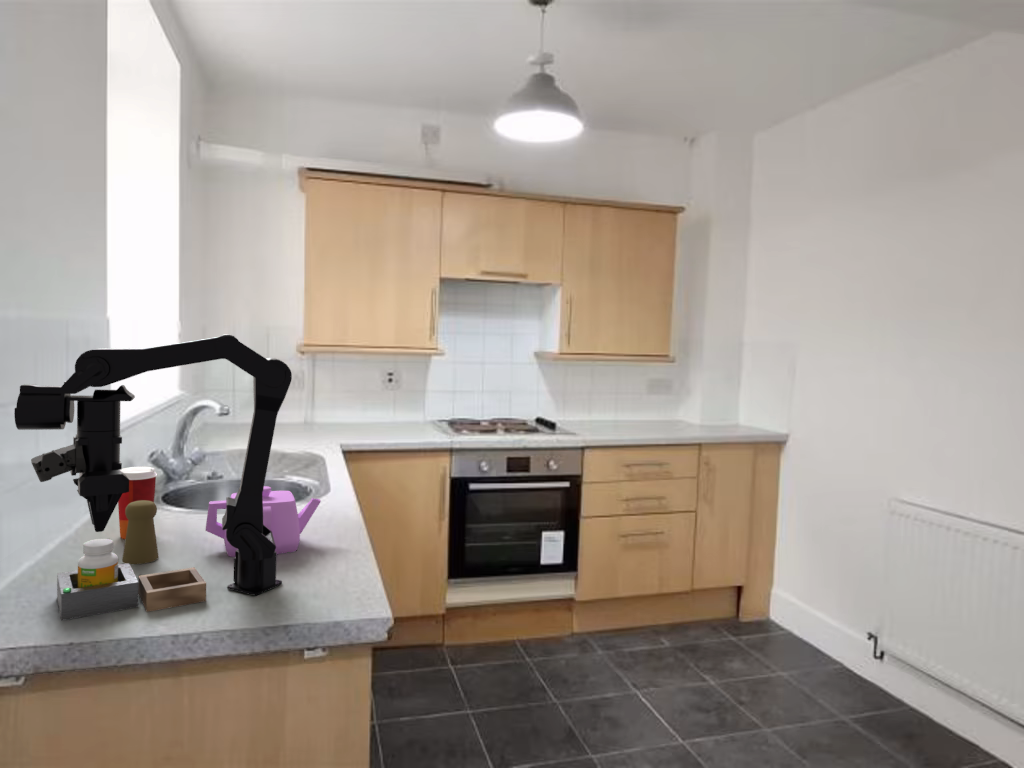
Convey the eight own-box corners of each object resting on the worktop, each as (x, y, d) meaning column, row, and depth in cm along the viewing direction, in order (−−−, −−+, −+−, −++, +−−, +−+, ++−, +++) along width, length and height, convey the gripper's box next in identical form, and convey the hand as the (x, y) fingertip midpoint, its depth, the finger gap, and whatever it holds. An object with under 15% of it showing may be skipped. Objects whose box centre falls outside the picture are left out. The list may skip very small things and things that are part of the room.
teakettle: (197, 551, 132) (198, 490, 131) (257, 530, 148) (258, 475, 147) (267, 565, 126) (269, 501, 125) (322, 541, 142) (324, 484, 141)
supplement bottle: (74, 611, 102) (74, 549, 101) (81, 597, 107) (81, 538, 106) (114, 607, 104) (115, 546, 103) (119, 594, 109) (120, 536, 108)
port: (128, 586, 112) (129, 560, 112) (138, 606, 104) (138, 579, 104) (57, 597, 106) (57, 570, 106) (61, 620, 98) (61, 591, 98)
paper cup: (159, 529, 144) (160, 465, 143) (152, 540, 137) (153, 473, 136) (118, 531, 141) (119, 466, 140) (109, 542, 134) (110, 473, 133)
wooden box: (194, 584, 115) (194, 567, 115) (205, 601, 108) (206, 583, 108) (138, 593, 110) (138, 575, 109) (146, 611, 103) (147, 592, 103)
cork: (117, 557, 126) (118, 500, 125) (152, 551, 130) (153, 496, 129) (127, 566, 121) (128, 507, 121) (163, 560, 126) (164, 502, 125)
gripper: (33, 423, 106) (32, 519, 107) (37, 441, 91) (37, 552, 92) (114, 421, 113) (113, 511, 114) (130, 437, 98) (128, 541, 99)
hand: (97, 527), depth 105 cm, fingers open, 4 cm apart
